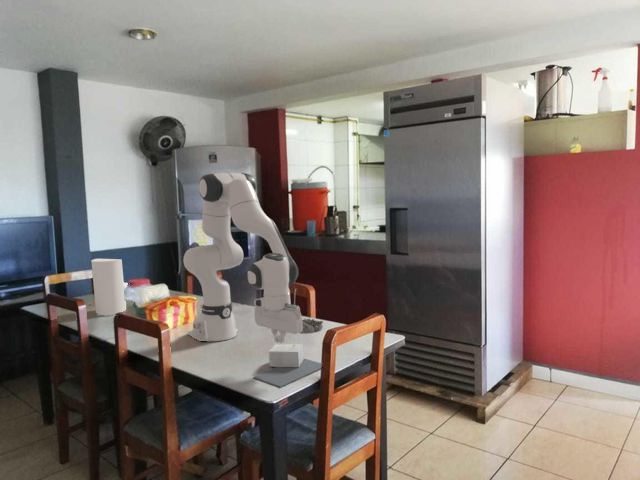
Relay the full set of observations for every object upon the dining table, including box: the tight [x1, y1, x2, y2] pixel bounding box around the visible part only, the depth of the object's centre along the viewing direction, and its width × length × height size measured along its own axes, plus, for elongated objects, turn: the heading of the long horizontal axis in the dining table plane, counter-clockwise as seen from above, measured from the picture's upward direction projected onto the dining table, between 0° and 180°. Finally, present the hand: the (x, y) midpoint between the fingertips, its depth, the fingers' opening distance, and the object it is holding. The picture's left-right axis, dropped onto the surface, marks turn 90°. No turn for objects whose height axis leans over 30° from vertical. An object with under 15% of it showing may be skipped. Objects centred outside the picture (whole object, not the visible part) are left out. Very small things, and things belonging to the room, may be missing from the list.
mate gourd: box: [293, 288, 302, 314], centre depth 221 cm, size 8×8×15 cm
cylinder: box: [90, 258, 129, 314], centre depth 256 cm, size 17×17×28 cm
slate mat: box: [252, 358, 322, 388], centre depth 164 cm, size 13×22×1 cm, turn 138°
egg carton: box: [302, 318, 324, 333], centre depth 212 cm, size 11×8×4 cm
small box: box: [268, 343, 305, 368], centre depth 170 cm, size 8×6×10 cm
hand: (279, 342), depth 166 cm, fingers closed
